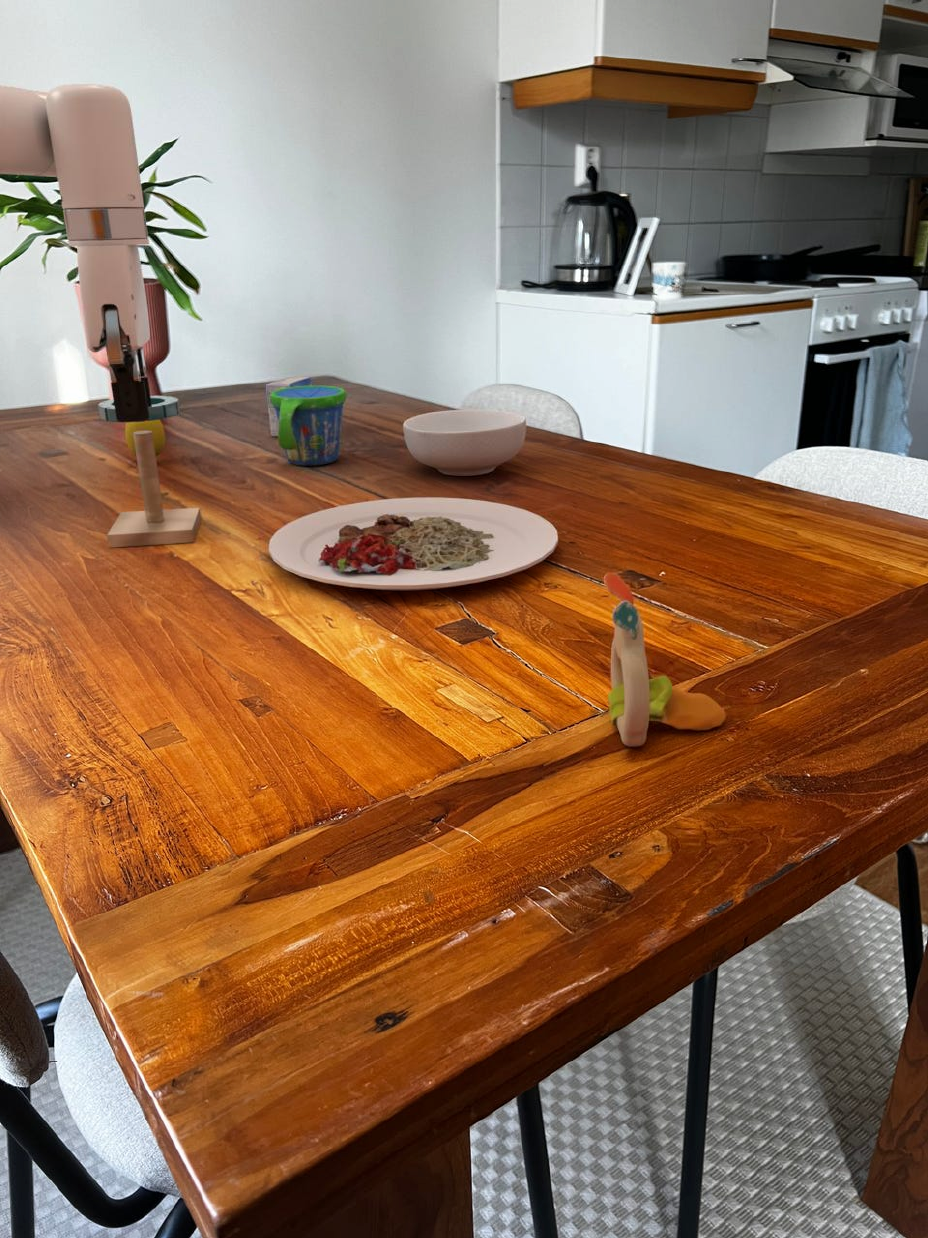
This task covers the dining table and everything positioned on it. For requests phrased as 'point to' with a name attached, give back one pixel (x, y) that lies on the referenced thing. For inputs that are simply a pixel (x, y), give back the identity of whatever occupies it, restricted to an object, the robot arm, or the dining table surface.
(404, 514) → the plated food
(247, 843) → the dining table surface
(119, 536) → the stand
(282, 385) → the medicine box
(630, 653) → the rattle
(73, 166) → the robot arm
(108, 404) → the ring
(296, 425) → the snack cup
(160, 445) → the lemon
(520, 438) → the cereal bowl
